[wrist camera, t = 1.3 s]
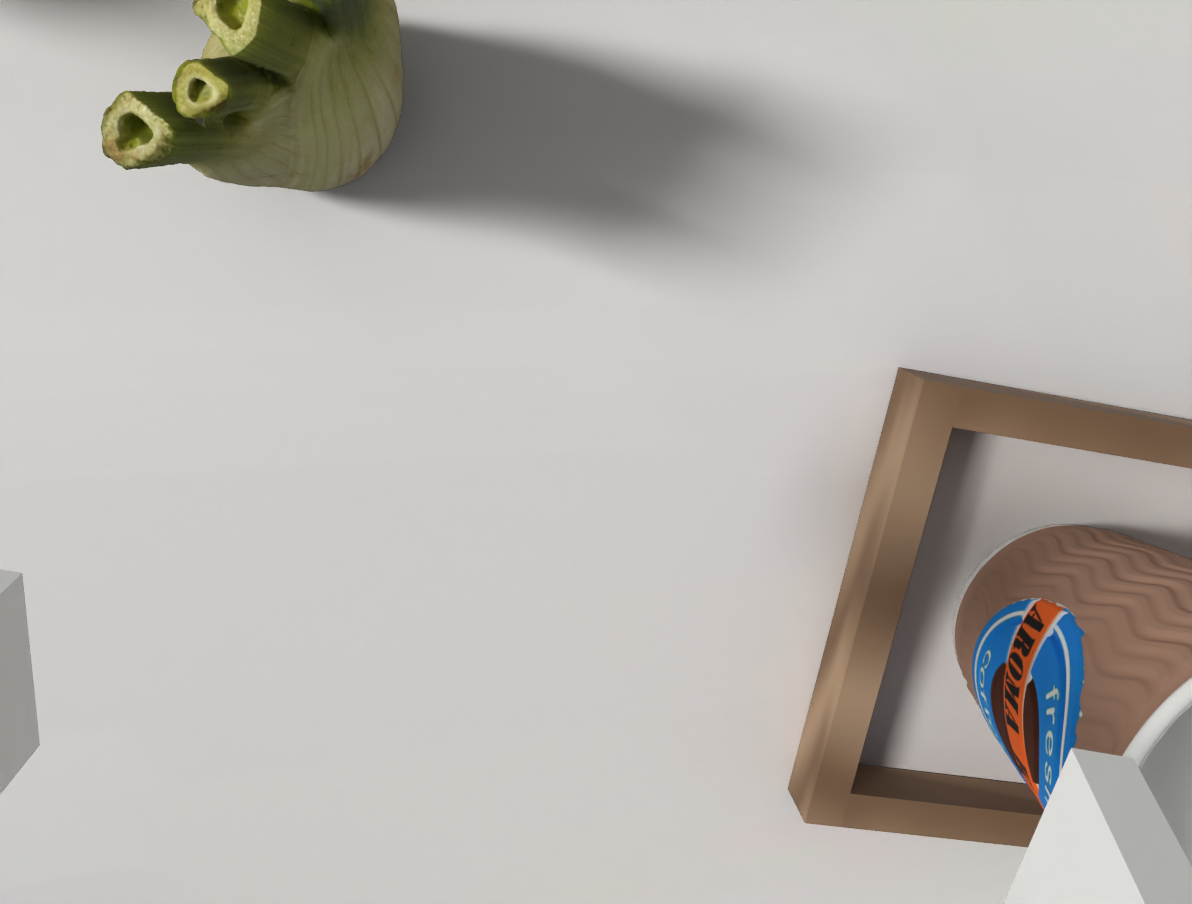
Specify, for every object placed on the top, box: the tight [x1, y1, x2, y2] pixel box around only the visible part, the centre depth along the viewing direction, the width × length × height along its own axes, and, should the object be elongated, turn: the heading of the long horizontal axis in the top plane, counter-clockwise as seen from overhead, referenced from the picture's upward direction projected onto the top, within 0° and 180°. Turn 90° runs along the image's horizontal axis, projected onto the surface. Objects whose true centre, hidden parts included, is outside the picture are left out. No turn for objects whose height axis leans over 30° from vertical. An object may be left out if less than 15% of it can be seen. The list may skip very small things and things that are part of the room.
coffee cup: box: [952, 524, 1192, 866], centre depth 31 cm, size 10×10×12 cm
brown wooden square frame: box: [788, 367, 1192, 847], centre depth 36 cm, size 15×15×2 cm
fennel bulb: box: [101, 0, 403, 192], centre depth 24 cm, size 6×5×12 cm
